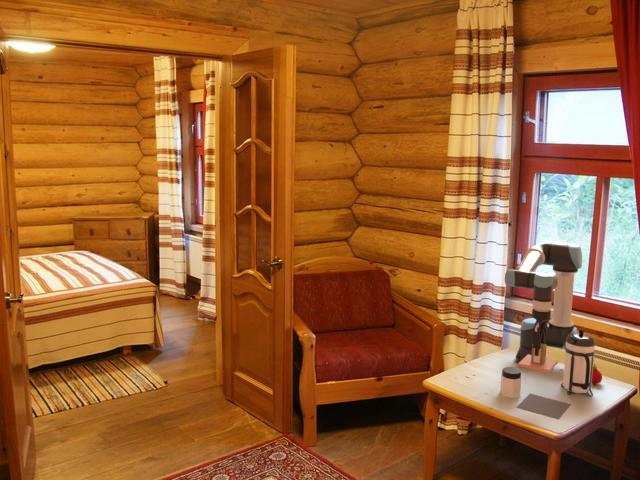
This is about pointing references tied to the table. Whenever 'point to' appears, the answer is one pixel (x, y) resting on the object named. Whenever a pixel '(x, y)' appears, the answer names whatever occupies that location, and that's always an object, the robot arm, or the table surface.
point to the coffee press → (579, 363)
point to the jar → (510, 382)
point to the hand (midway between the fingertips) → (538, 360)
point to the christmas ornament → (596, 375)
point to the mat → (544, 406)
